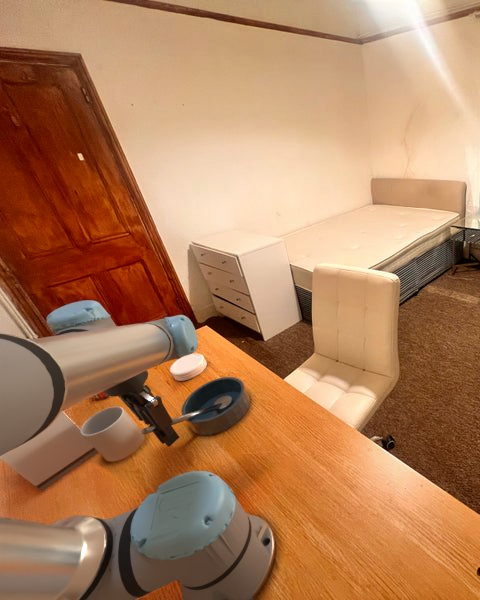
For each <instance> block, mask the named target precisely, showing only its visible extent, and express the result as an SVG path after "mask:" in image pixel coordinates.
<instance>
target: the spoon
mask: <svg viewBox="0 0 480 600" xmlns="http://www.w3.org/2000/svg"><path fill="white" fill-rule="evenodd" d="M233 404H234V401H233V399H232V397H231V396H222V397H220V398H219V399H217V400H216V401H215V403H214V405H213V406H210V407H207V408H204V409H201V410H198V411H195V412H192V413H189V414H186V415H183V416H182V415H180V416H177V417H175V418H171V419H172V421H173V422H172V423H171V424H170V425H171V426H174V425H177V424H180V423H183V422H186V420H188V419H191V418H194V417H197V416H200V415H203V414H205V413H208V412H211V411H214V410H216V412H217V413H222V412H224V411H225V410H227V409H228V408H230V407H231V406H232V405H233ZM149 426H150V425H149ZM149 426H147V427H144V428H142V430H141V433H142V434H143V435H148V434H151V433H153V431H152V430H153V429H154V428H155V426H154V425H153V426H150V427H149Z"/></svg>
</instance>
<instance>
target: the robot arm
mask: <svg viewBox="0 0 480 600" xmlns="http://www.w3.org/2000/svg"><path fill="white" fill-rule="evenodd" d="M46 323H47V325H48V327H49V328H50V329H49V330H50V331H51V332H53V333H54V335H51V336H44V337H38V338H37V337H36V338H30V339H28V338H26V337H22V336H18V335H16V334H15V335H14V334H8V333H0V456H1V455H3V454H5V453H7V452H9V451H11V450H13V449H15V448H17V447H19V446H20V445H22V444H24V443H26V442H28V441H29V440H31V439H33V438H35V437H36V436H38V435H39V434H40V433H42V432H43V431H44V430H46V429H47V428H48V427H49V426H50V425H51V424H52V423H53V422H54V420H55V419H56V418H57V417H58V415H59V414H60V412H61V411H63V412H64V411H66V410H67V409H69V408H72V407H74V406H75V405H79V404H80V403H82V402H84V401H86V400H88V399H90V398H93V397H92V396H94V395H96V394H99V393H101V392H104V393H105V394H106V395H108V396H107V397H118V398H119V399H120V400H121V402H123V403H124V405H125V406H126V407H127V408H128V409H129V410H130V411H131V412H132V414H133V415H135V417H136V418H137V420H138V421H140V422H144V424H145V425H147V426H148V427H150V426H153V425H154V426H155V428H154V429H153V430H152V431H153V432H152V433H153V434H154V436H155V437H156V438H157V439H158V440H159V442H160V443H161V444H163V445H166V446H167V447H169V448H170V447H171V446H172V445H173V444H174V443H175V442H176V441H178V440H179V438H180V436H179V434H178V433H177V431H176V430H175V428H174V427H173V425H170V424H171V423H172V422H173V421H172V419H173V418H172V417H171V415H170V414H169V412H168V410H167V408H166V406H165V405H164V403H163V400H162V397H161V396H159V395H156V396H154V394H153V393H152V389H151V388H150V387H149V386H148V385H147V384H145V383H146V381H147V380H148V377H149V372H148V370H151V369H153V368H155V367H158V366H160V365H161V364H164V363H167V362H171V361H174V360H178V359H180V358H182V357H184V356H187V355H190V354H195V352H196V351H197V349H198V347H199V340H198V334H197V331H196V328H195V326H194V324H193V322H192V321H191V319H190V318H189V317H188V316H186V315H184V314H177V315H173V316H164V317H163V318H159V319H155V320H151V321H147V322H139V323H133V324H132V323H131V324H125V325H119V326H117V325H116V324H115V322H114V320H113V319H112V317H111V314H109V312H107V310H106V309H105V308H104V307H103V306H102V304H101V303H100V302H99V301H96V300H92V299H91V300H88V299H87V300H79V301H75V302H71V303H67V304H65V305H63V306H61V307H58V308H56V309H54V310H53V311H52V312H50V313H48V315H47V316H46ZM156 488H157V490H156V491H155V492H154V493H149V494H148V495H147V496H146V497H145V498H144V500H143V501H142V502H141V503H140V504H139V506H138V507H135V508H133V509H130V510H128V511H126V512H123V513H120V514H118V515H116V516H113V517H109V518H99V517H95V516H90V515H78V514H77V515H71V516H68V517H64V518H62V519H59V520H57V521H55V522H52V523H50V524H48V523H42V522H35V521H30V520H24V519H19V518H11V517H5V516H0V600H138V599H140V598H142V597H145V596H146V595H148V594H150V593H152V592H155V591H157V590H159V589H161V588H164V587H165V586H167V585H169V584H171V583H174V582H178V583H179V584H180V587H181V596H182V597H181V598H182V600H254V599H255V598H256V597H257V596H258V594H259V593H260V592H261V590H262V589H263V587H264V586H265V584H266V582H267V580H268V579H269V577H270V574H271V571H272V568H273V566H274V562H275V559H276V558H275V557H276V547H277V546H276V545H277V544H276V540H275V535H274V532H273V529H271V527H270V525H269V524H268V522H266V520H264V519H263V518H262V517H261V516H258V515H255V514H250V513H248V512H246V511H245V509H244V508H243V506H242V505H241V503H240V502H239V499H238V498H237V497H236V495H235V494H234V491H233V490H232V488H231V486H230V485H229V484H228V483H226V482H225V481H224V480H223V479H222V478H221V477H220V476H219V475H217V474H215V473H213V472H211V471H207V470H192V471H188V472H183V473H180V474H177V475H176V476H175V475H174V476H173V477H171V478H169V479H167V480H165V481H164V482H163V483H161V484H160V485H158V486H157V487H156Z"/></svg>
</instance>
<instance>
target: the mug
mask: <svg viewBox="0 0 480 600" xmlns="http://www.w3.org/2000/svg"><path fill="white" fill-rule="evenodd" d="M80 429H81V430H80V433H81V435H82V436H83V437H84V438H85V439H86V440H87V441H88V442H89V443H90V444H91V445H92V446H93V447H94V448H95V449H96V450H97V451H98V454H100V456H102V458H103V459H104V460H105V461H107V462H110V463H113V462H118V461H121V460H123V459H126V458H128V457H129V456H131V455H132V454H134V453H135V452H136V451H137V450H138V449H139V448H140V447H141V446H142V445H143V443H144V441H145V439H146V436H145V435H143V434H142V433H141V431H142V430H141V428H140V427H139V426H138V425H137V424H136V422H135V421H134V420H133V418H132V417H131V416H130V415H129V414H128V413H127V411H126V410H125V408H123V407H122V406H115V405H114V406H110V407H107V408H104V409H102V410H100V411H98V412H96V413H94V414H93V415H91V416H90V417H88V419H86V420H85V421H84V422H83V424H82V425H81V426H80Z"/></svg>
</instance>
